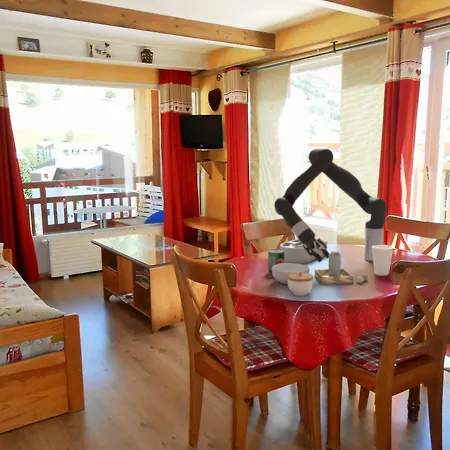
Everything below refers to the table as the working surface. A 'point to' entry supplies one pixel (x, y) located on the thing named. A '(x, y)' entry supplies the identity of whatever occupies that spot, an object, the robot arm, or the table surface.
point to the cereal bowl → (287, 271)
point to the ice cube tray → (297, 252)
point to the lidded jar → (300, 283)
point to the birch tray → (324, 279)
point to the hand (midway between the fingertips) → (325, 259)
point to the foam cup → (382, 258)
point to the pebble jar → (334, 264)
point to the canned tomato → (275, 258)
